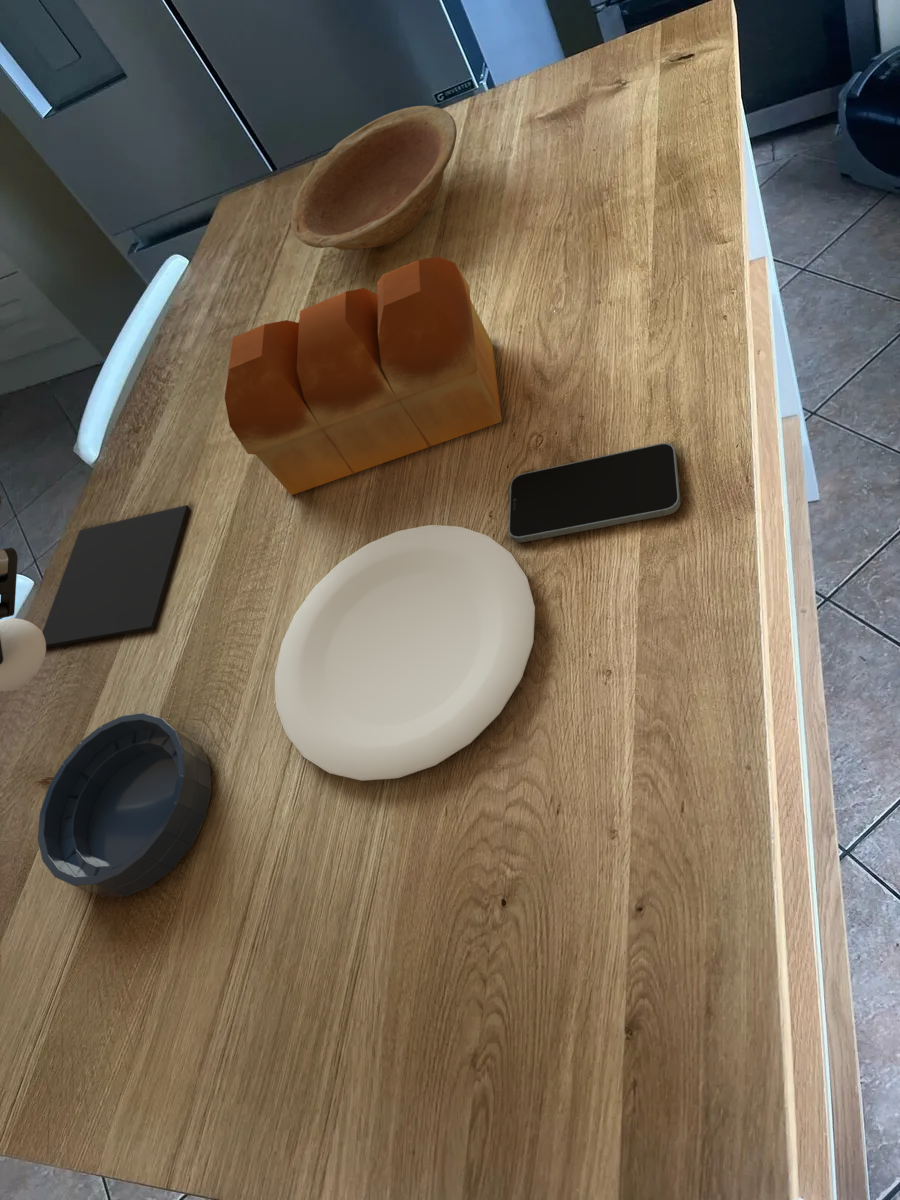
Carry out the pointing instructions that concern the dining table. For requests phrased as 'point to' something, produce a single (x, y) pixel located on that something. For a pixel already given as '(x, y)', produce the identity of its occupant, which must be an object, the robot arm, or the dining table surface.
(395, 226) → the bowl
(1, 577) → the robot arm
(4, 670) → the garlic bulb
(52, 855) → the glazed bowl
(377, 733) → the plate
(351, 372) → the bread
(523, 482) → the smartphone
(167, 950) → the dining table surface
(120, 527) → the mat
